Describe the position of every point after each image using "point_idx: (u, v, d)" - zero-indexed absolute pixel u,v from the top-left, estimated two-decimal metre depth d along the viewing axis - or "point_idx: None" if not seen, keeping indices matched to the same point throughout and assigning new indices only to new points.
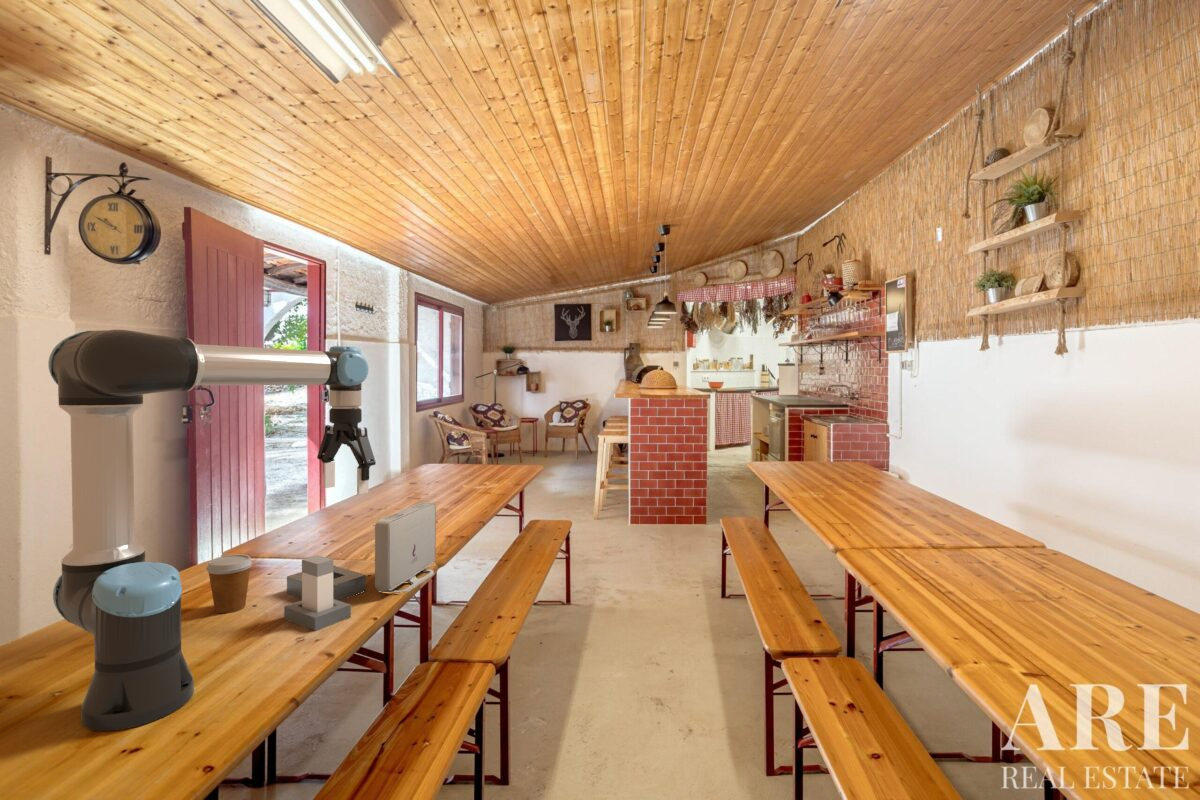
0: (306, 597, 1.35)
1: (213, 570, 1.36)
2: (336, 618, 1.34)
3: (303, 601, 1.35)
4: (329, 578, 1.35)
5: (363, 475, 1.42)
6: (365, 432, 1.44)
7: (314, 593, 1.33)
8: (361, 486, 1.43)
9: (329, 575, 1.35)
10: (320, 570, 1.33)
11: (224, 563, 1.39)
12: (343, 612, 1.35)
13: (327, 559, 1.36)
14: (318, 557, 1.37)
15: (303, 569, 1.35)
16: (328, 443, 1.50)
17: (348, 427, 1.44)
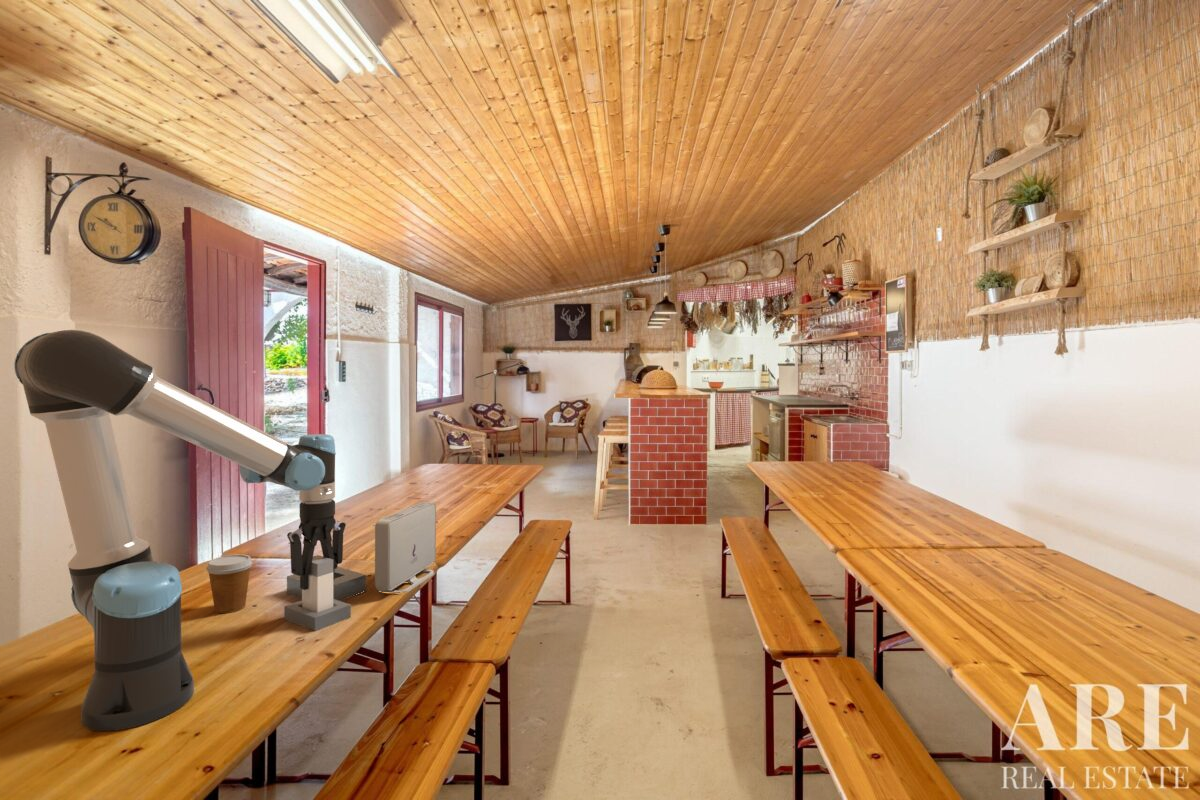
0: None
1: (213, 570, 1.36)
2: (336, 618, 1.34)
3: (303, 601, 1.35)
4: (329, 578, 1.35)
5: None
6: (292, 539, 1.30)
7: (314, 593, 1.33)
8: (304, 593, 1.34)
9: (329, 575, 1.35)
10: (320, 570, 1.33)
11: (224, 563, 1.39)
12: (343, 612, 1.35)
13: (327, 559, 1.36)
14: (318, 557, 1.37)
15: None
16: (335, 542, 1.39)
17: None
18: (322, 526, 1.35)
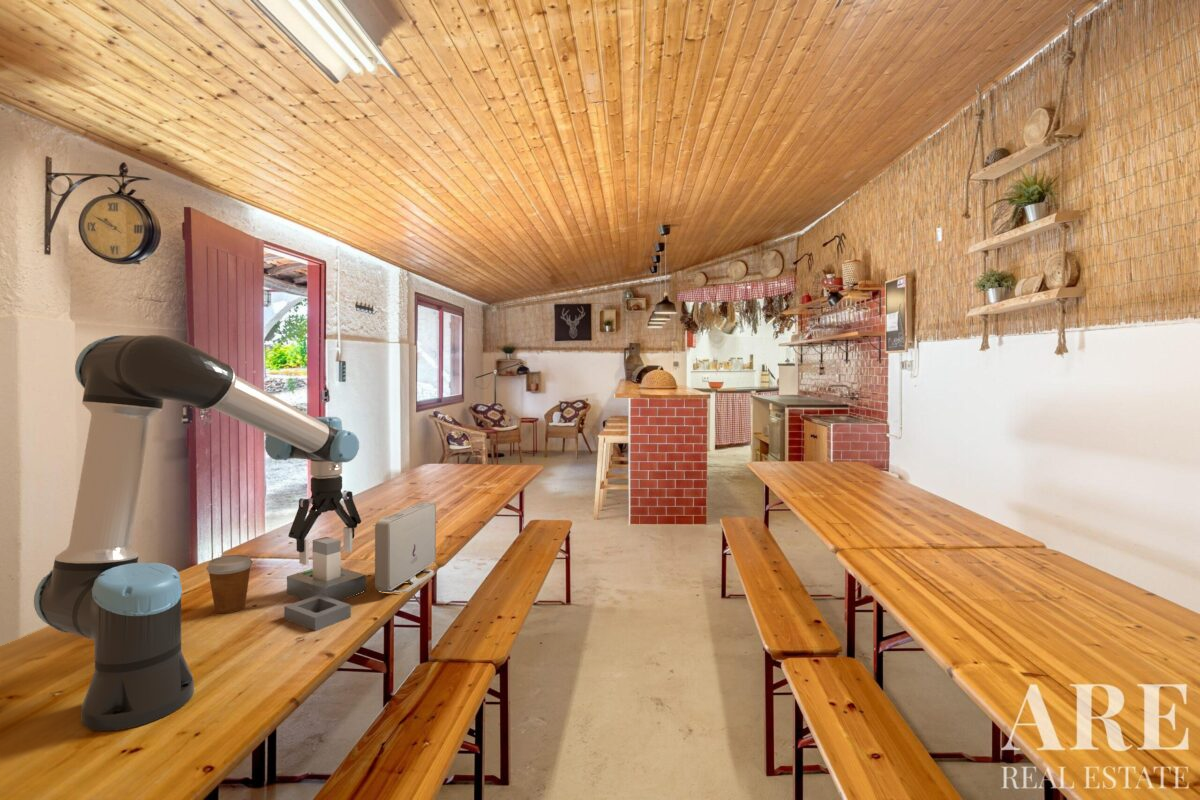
0: (316, 573, 1.51)
1: (213, 570, 1.36)
2: (336, 618, 1.34)
3: (314, 577, 1.51)
4: (337, 557, 1.51)
5: None
6: (302, 504, 1.45)
7: (323, 569, 1.49)
8: (300, 556, 1.46)
9: (337, 554, 1.51)
10: (329, 549, 1.49)
11: (224, 563, 1.39)
12: (343, 612, 1.35)
13: (335, 540, 1.52)
14: (327, 538, 1.53)
15: (314, 548, 1.51)
16: (349, 508, 1.57)
17: None
18: (330, 500, 1.51)
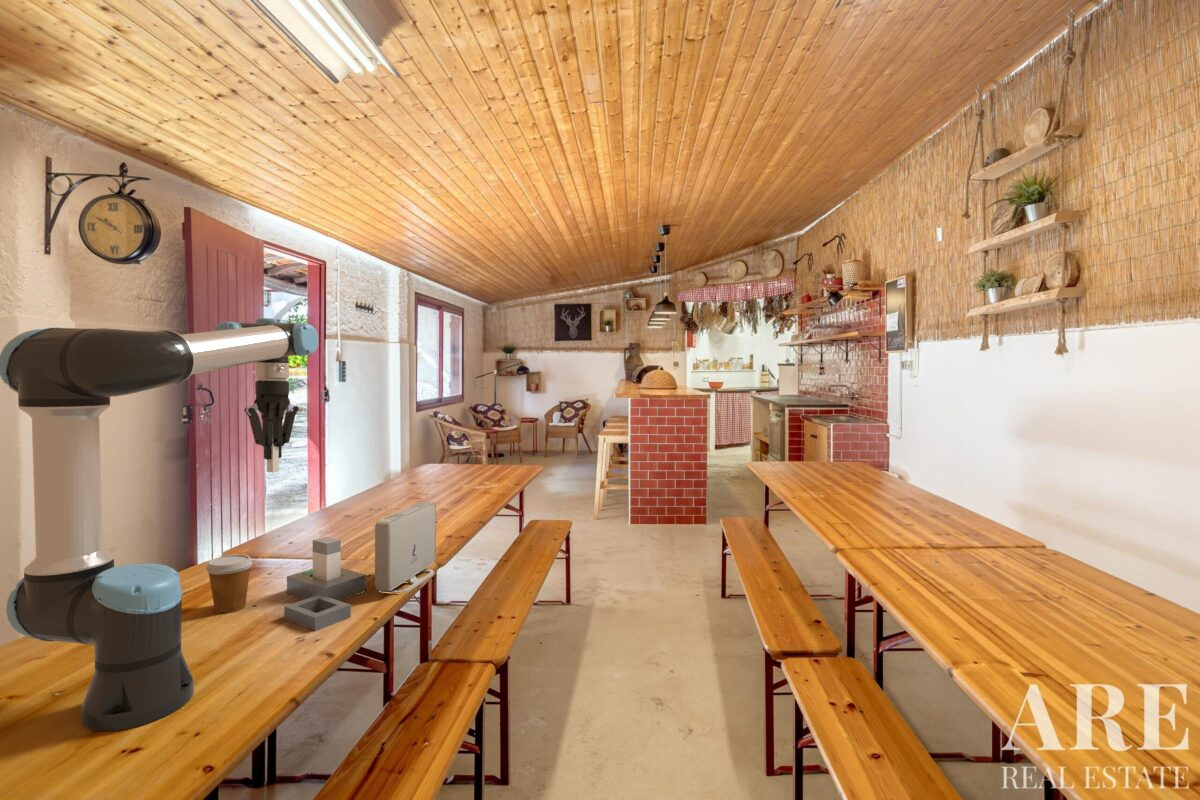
0: (316, 573, 1.51)
1: (213, 570, 1.36)
2: (336, 618, 1.34)
3: (314, 577, 1.51)
4: (337, 557, 1.51)
5: None
6: (249, 413, 1.42)
7: (323, 569, 1.49)
8: (268, 464, 1.47)
9: (337, 554, 1.51)
10: (329, 549, 1.49)
11: (224, 563, 1.39)
12: (343, 612, 1.35)
13: (335, 540, 1.52)
14: (327, 538, 1.53)
15: (314, 548, 1.51)
16: (285, 423, 1.50)
17: None
18: (277, 403, 1.47)
